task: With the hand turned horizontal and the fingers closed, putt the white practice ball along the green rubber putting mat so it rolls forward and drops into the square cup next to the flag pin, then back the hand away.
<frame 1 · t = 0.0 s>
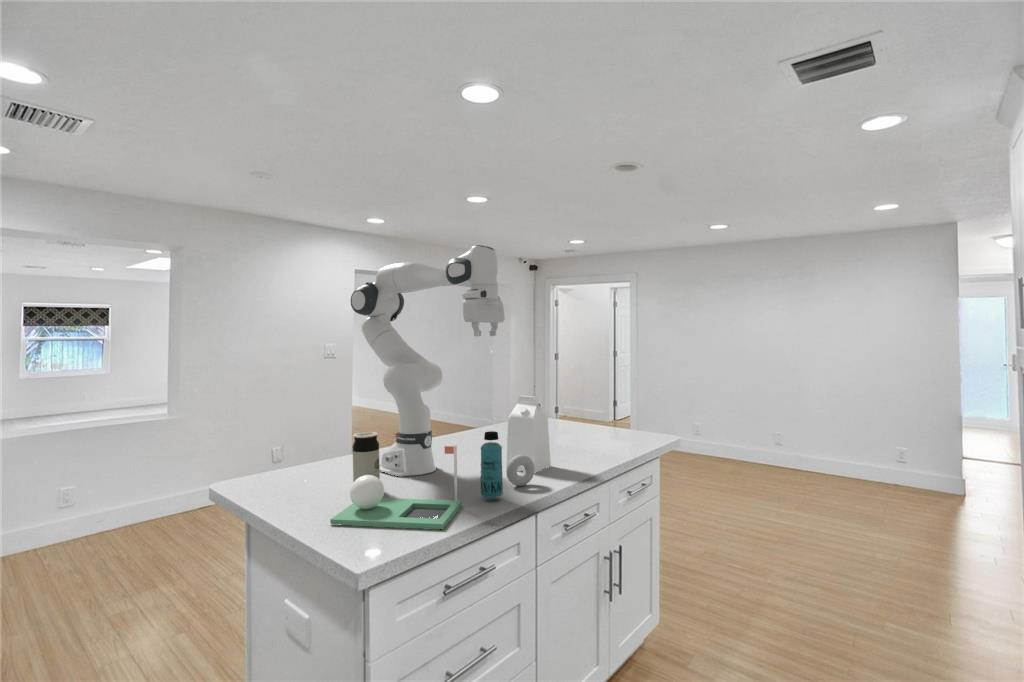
hand: (485, 336, 167), 48 cm above the counter, tool pointing down, fingers open, 8 cm apart
donut: (520, 486, 162), on the counter
beverage bottle: (492, 500, 148), on the counter
ball: (367, 491, 138), point 6 cm above the counter, touching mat
milk: (528, 468, 184), on the counter
travel mug: (366, 491, 159), on the counter
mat: (399, 515, 137), on the counter
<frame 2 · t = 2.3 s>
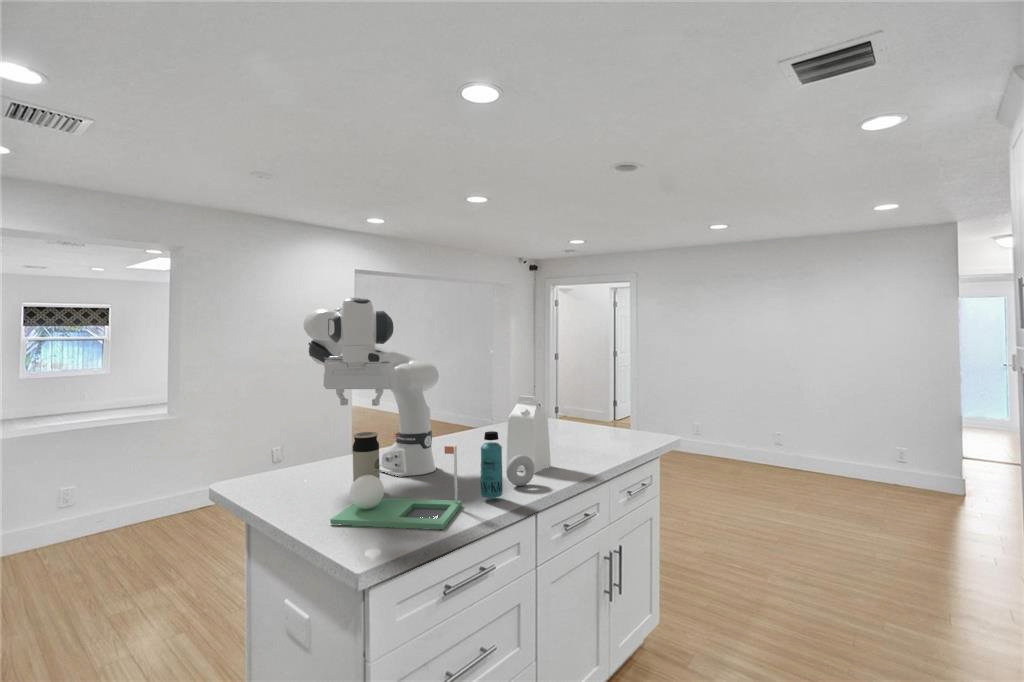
hand: (359, 405, 141), 29 cm above the counter, tool pointing down, fingers open, 8 cm apart
nothing on the counter moved.
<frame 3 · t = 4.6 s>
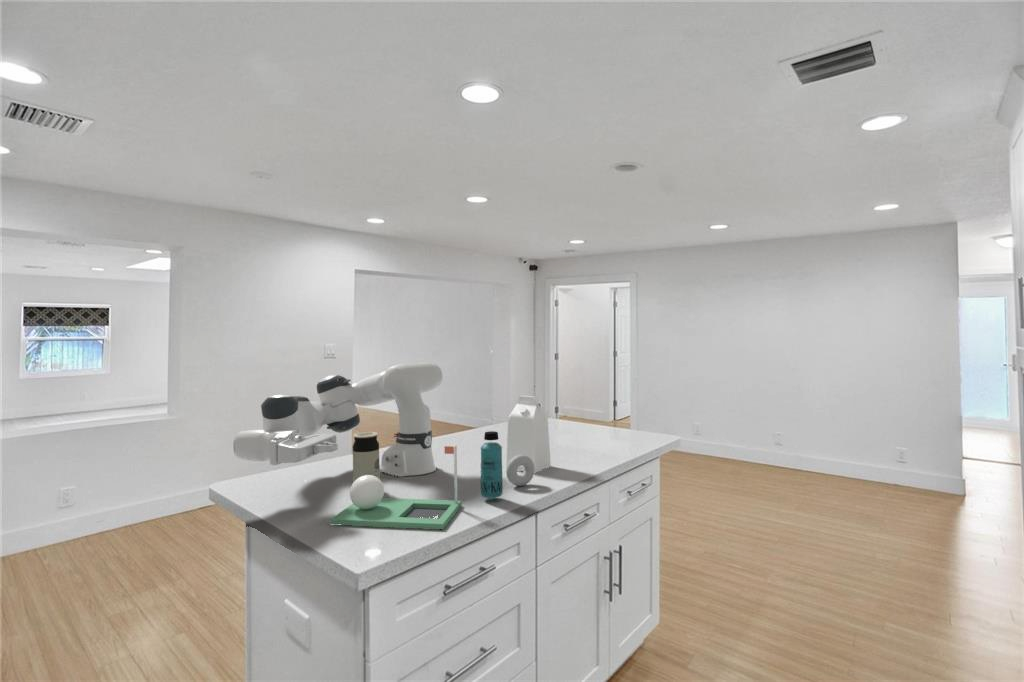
hand: (335, 447, 140), 18 cm above the counter, tool horizontal, fingers closed
nothing on the counter moved.
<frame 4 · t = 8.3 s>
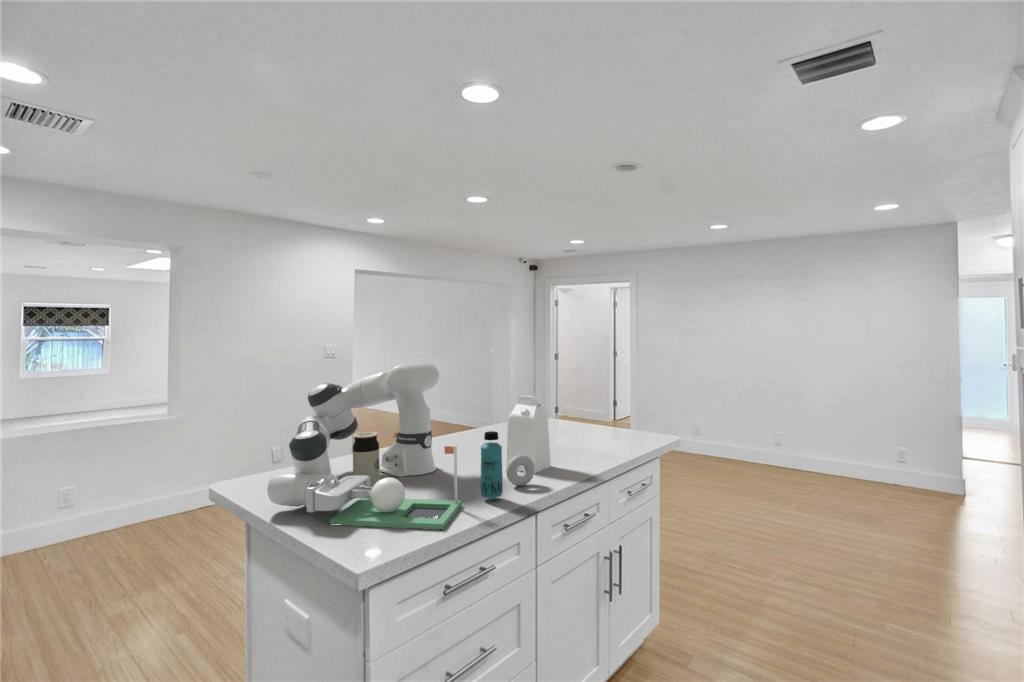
hand: (371, 492, 137), 6 cm above the counter, tool horizontal, fingers closed
ball: (387, 494, 135), point 6 cm above the counter, tilted 90°, touching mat
everything else where it was.
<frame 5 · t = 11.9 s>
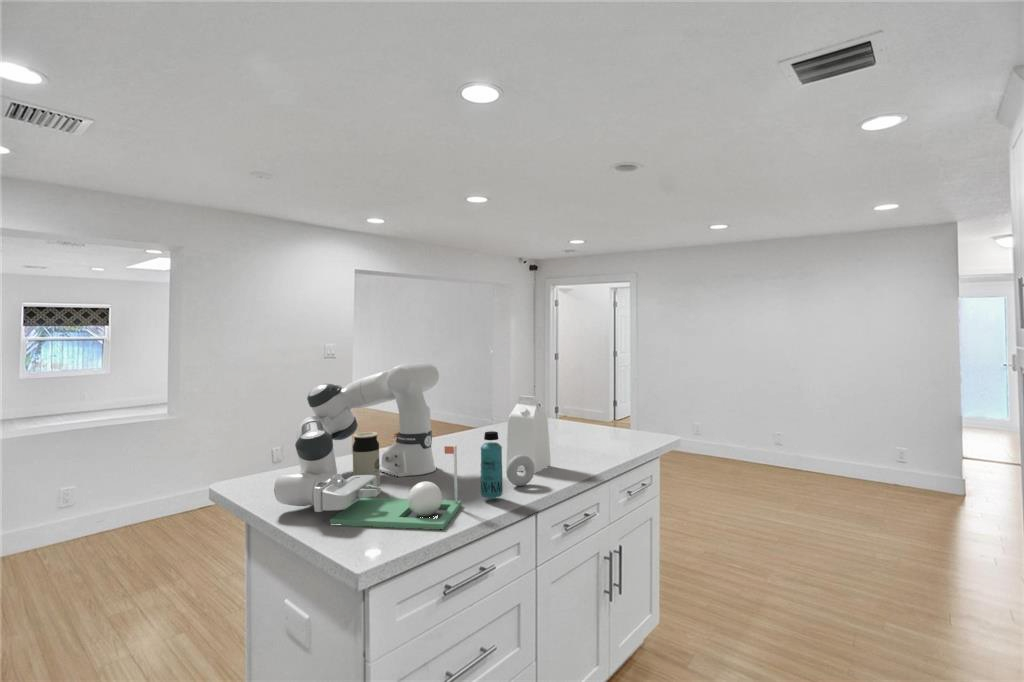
hand: (378, 491, 137), 6 cm above the counter, tool horizontal, fingers closed
ball: (425, 498, 136), point 5 cm above the counter, tilted 117°, touching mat
everything else where it was.
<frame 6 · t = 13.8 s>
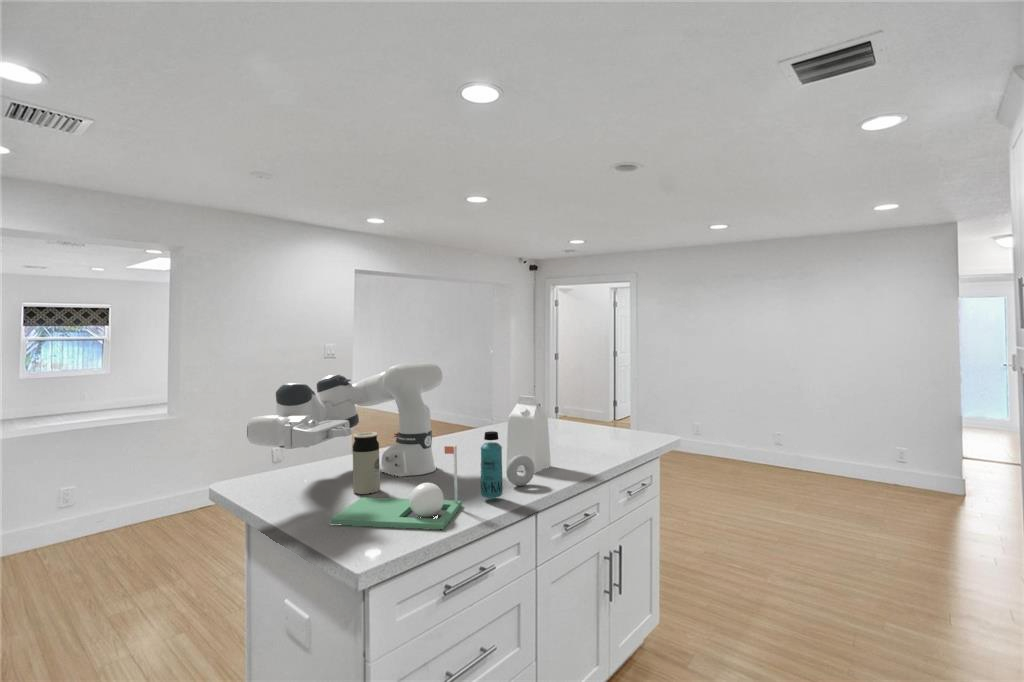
hand: (349, 432, 139), 22 cm above the counter, tool horizontal, fingers closed
ball: (426, 500, 134), point 5 cm above the counter, tilted 109°, touching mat
everything else where it was.
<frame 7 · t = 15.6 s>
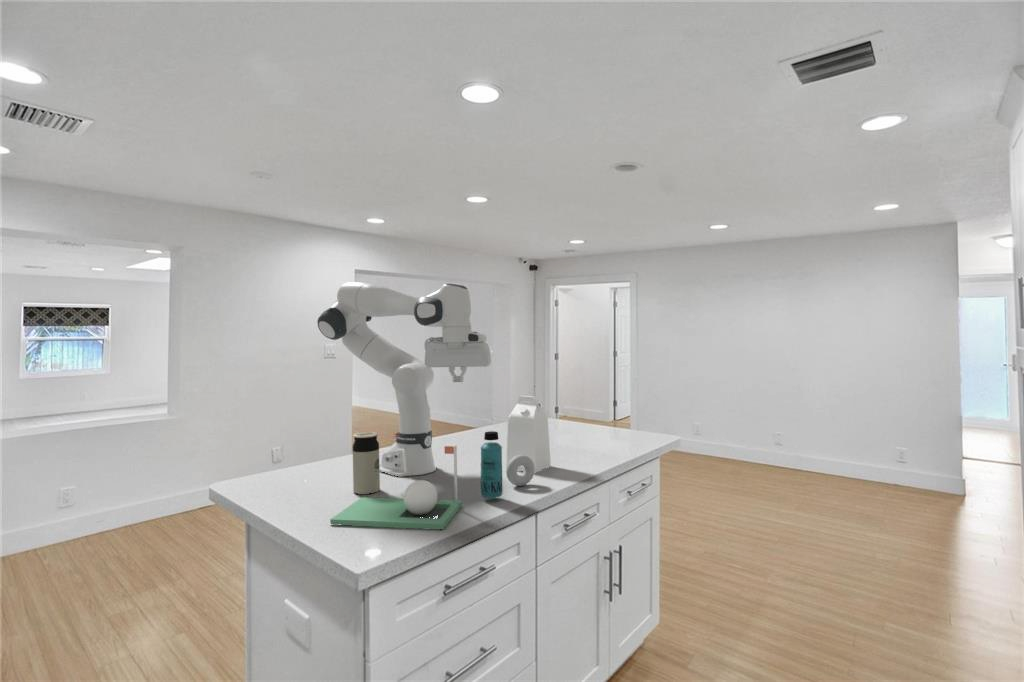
hand: (458, 381, 155), 34 cm above the counter, tool pointing down, fingers closed
ball: (420, 497, 137), point 5 cm above the counter, tilted 130°, touching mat
everything else where it was.
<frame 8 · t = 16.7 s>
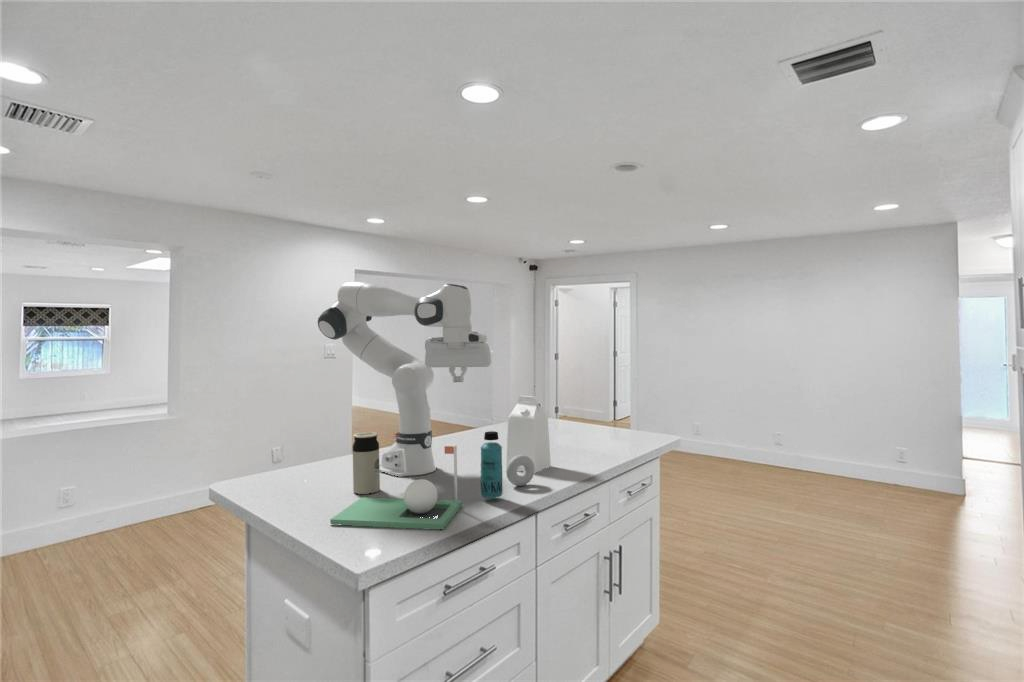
hand: (458, 382, 155), 34 cm above the counter, tool pointing down, fingers closed
at the end: ball 2.4 cm from the target spot on the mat, point 4.7 cm above the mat's base; ball point 4.7 cm above the counter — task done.
